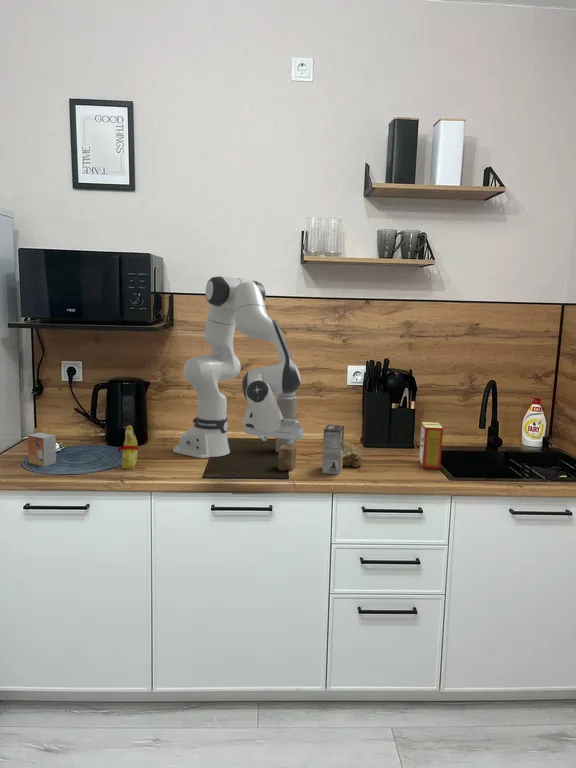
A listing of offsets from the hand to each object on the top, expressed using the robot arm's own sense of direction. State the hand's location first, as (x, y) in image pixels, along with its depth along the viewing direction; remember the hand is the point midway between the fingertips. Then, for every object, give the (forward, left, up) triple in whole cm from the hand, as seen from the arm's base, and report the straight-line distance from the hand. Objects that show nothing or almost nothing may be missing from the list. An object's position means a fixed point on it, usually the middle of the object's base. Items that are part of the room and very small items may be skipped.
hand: (278, 440), depth 199 cm
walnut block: (0, +11, -13) cm, 17 cm away
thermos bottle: (-8, +33, -13) cm, 36 cm away
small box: (-83, -19, -13) cm, 86 cm away
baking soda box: (+49, +38, -13) cm, 63 cm away
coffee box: (+16, +16, -13) cm, 26 cm away
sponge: (+17, +30, -13) cm, 37 cm away
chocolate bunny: (-54, -9, -13) cm, 56 cm away
